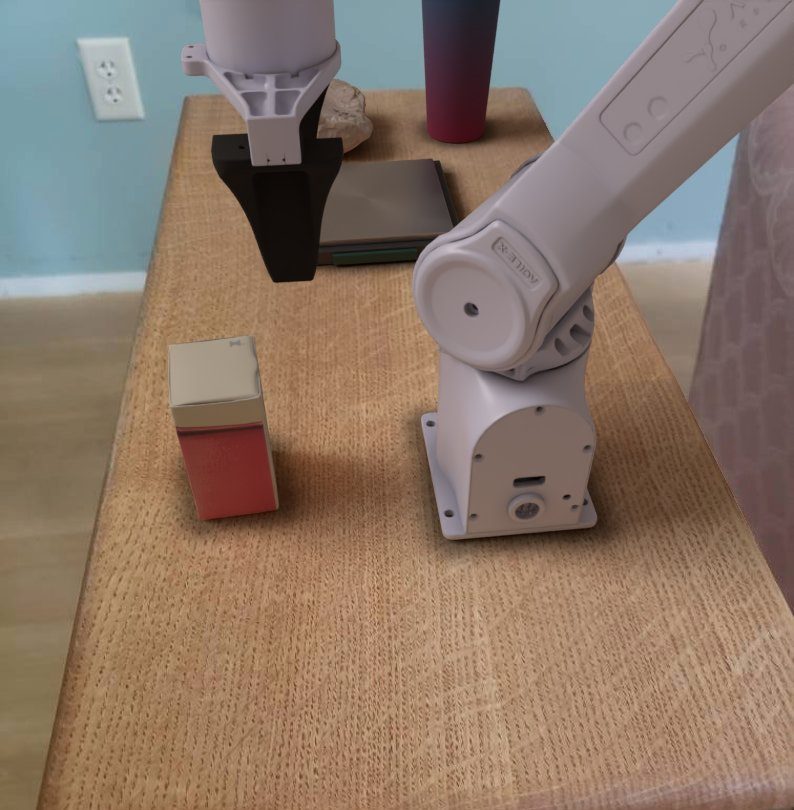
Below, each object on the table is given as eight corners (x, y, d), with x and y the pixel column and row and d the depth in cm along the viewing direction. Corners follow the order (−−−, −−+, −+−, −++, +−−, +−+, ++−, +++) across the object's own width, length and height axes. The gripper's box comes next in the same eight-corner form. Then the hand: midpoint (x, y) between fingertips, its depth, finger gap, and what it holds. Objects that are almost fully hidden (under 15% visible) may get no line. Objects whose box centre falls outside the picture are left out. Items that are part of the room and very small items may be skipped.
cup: (465, 155, 72) (476, -54, 61) (401, 134, 75) (400, -69, 64) (509, 126, 76) (526, -76, 65) (446, 108, 79) (452, -89, 67)
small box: (195, 458, 48) (165, 341, 42) (272, 448, 48) (254, 330, 42) (198, 524, 44) (166, 406, 39) (281, 512, 45) (262, 395, 39)
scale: (465, 258, 61) (466, 239, 60) (284, 270, 60) (282, 251, 59) (439, 171, 70) (440, 153, 69) (280, 181, 69) (278, 163, 68)
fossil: (349, 72, 77) (386, 62, 68) (355, 151, 79) (392, 151, 71) (253, 77, 74) (279, 67, 66) (263, 159, 77) (289, 159, 68)
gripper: (174, -111, 39) (221, 176, 49) (141, -7, 30) (208, 322, 40) (327, -115, 40) (343, 170, 50) (343, -15, 30) (358, 314, 40)
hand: (292, 238), depth 45 cm, fingers open, 7 cm apart
